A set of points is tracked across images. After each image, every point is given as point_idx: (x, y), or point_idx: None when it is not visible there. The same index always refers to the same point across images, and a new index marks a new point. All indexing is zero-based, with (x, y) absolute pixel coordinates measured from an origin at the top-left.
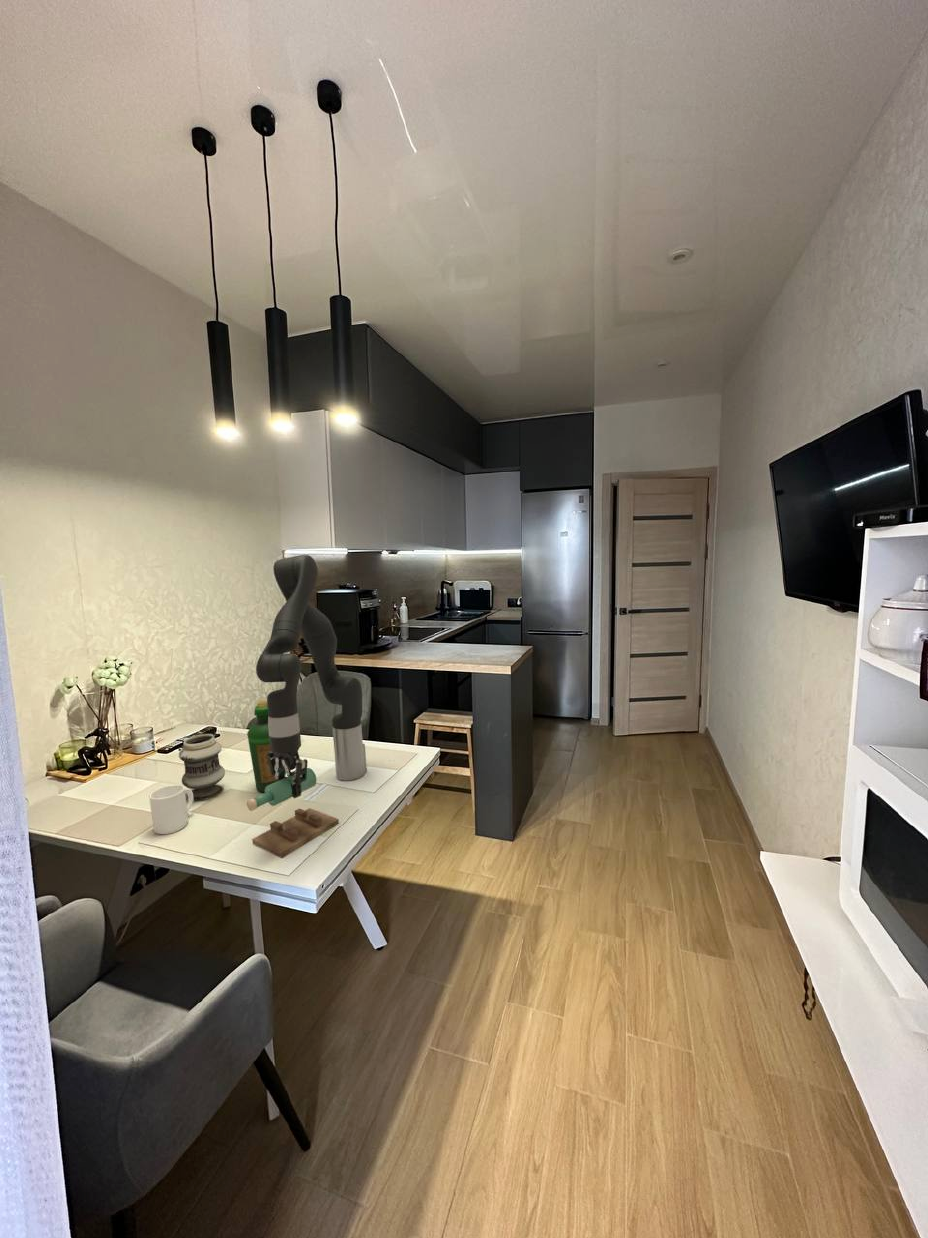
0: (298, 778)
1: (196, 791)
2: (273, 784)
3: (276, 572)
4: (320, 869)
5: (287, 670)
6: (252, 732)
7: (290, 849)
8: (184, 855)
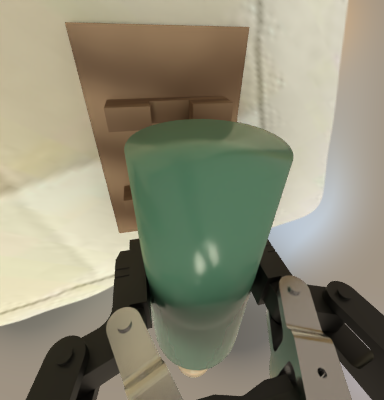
0: (353, 344)
1: None
2: (210, 362)
3: None
4: (308, 188)
5: None
6: None
7: None
8: (56, 298)
